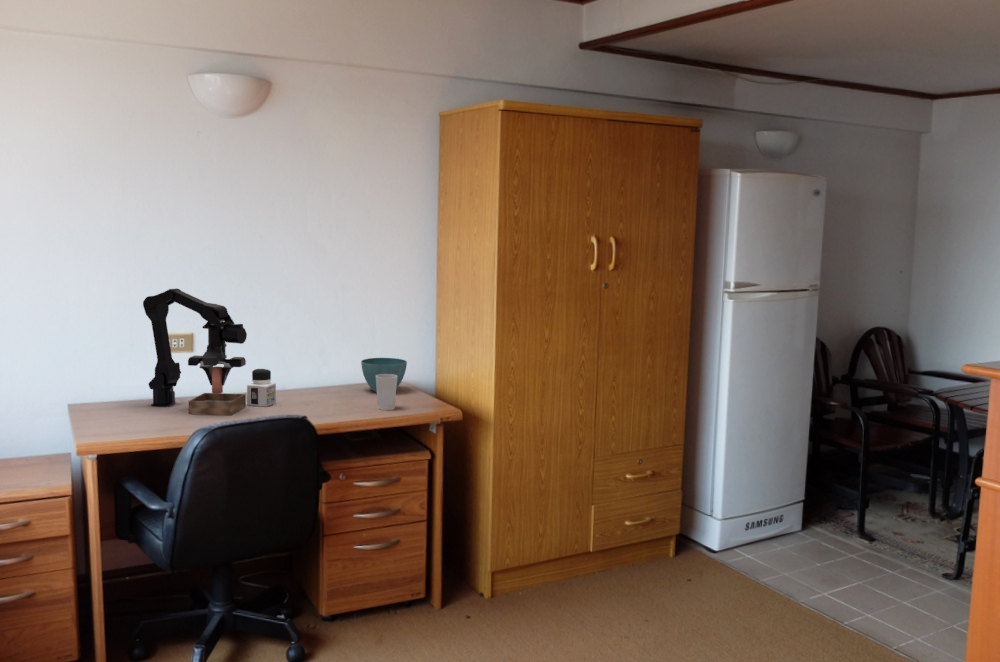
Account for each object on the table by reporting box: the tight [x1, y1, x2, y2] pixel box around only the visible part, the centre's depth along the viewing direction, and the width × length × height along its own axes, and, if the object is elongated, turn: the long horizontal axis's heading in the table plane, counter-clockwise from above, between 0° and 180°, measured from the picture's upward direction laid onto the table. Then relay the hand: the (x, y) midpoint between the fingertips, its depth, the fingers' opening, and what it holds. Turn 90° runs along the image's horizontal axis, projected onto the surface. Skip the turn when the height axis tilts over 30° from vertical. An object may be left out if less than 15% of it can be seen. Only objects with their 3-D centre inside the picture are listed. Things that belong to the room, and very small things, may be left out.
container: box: [246, 368, 277, 408], centre depth 315 cm, size 8×8×13 cm
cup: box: [376, 374, 398, 411], centre depth 314 cm, size 8×8×12 cm
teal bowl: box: [360, 357, 408, 393], centre depth 346 cm, size 18×18×12 cm
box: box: [188, 392, 247, 416], centre depth 304 cm, size 15×15×4 cm
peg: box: [211, 366, 224, 393], centre depth 303 cm, size 4×4×9 cm
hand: (217, 385), depth 303 cm, fingers closed on peg, 4 cm apart
